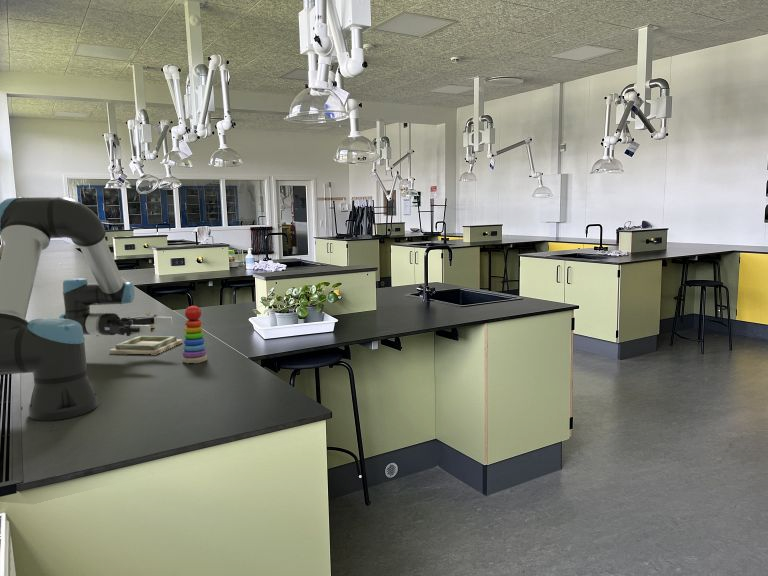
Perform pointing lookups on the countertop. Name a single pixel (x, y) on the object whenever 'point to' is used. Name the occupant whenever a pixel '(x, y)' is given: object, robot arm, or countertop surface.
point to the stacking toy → (193, 337)
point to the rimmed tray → (146, 345)
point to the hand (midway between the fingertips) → (161, 325)
